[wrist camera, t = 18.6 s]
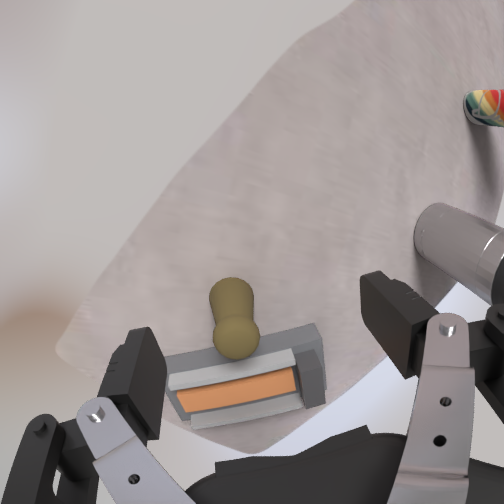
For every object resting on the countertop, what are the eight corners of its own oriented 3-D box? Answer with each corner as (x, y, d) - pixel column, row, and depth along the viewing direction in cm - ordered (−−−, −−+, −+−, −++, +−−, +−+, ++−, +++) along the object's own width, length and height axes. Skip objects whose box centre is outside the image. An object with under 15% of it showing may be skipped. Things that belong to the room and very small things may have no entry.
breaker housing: (313, 322, 46) (330, 355, 38) (319, 373, 50) (334, 406, 42) (159, 357, 45) (152, 394, 37) (183, 403, 49) (181, 439, 41)
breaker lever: (290, 366, 43) (292, 371, 42) (294, 384, 44) (296, 390, 43) (177, 390, 42) (176, 395, 41) (186, 407, 44) (185, 412, 42)
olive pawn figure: (258, 282, 42) (273, 328, 32) (246, 319, 44) (257, 371, 34) (214, 273, 41) (215, 318, 31) (204, 311, 43) (204, 363, 32)
